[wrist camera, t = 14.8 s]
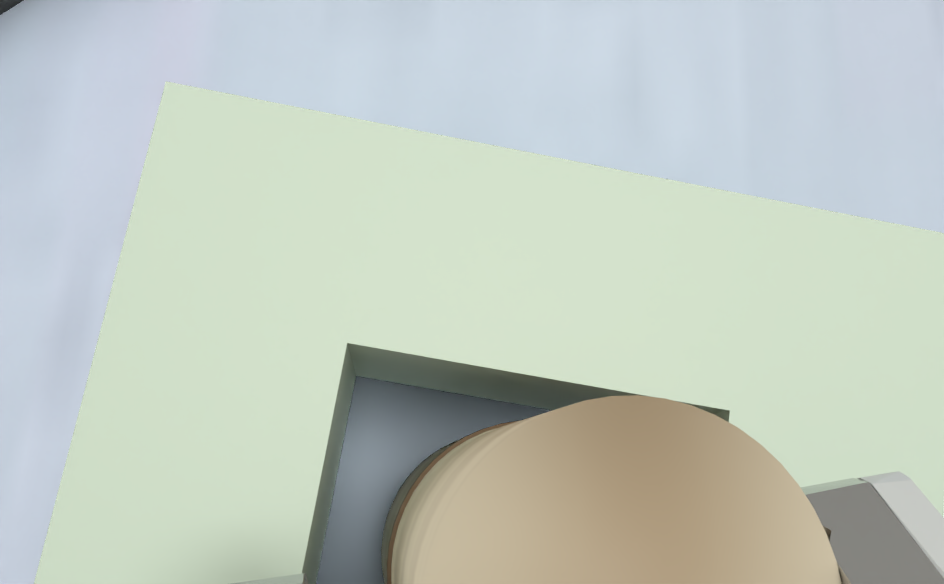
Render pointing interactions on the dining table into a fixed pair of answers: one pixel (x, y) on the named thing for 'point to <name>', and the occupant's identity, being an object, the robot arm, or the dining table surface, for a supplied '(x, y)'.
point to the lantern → (7, 5)
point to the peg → (606, 504)
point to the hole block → (456, 325)
